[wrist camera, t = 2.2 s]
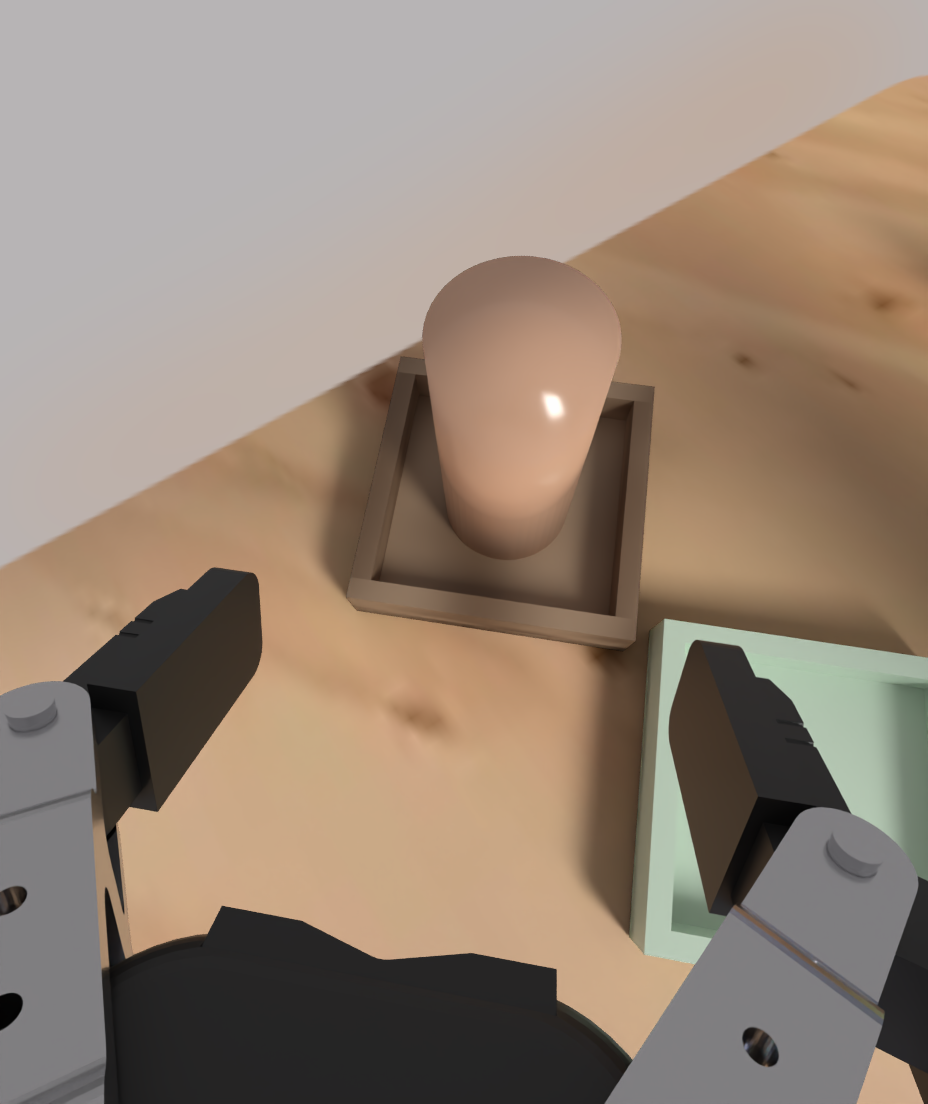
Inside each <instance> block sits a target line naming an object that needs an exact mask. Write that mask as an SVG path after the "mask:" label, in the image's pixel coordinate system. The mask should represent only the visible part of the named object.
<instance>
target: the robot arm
mask: <svg viewBox="0 0 928 1104" xmlns="http://www.w3.org/2000/svg"><path fill="white" fill-rule="evenodd" d="M261 653H262V628H261V613H260V597H259V583H258V579H257V577H256V575H255V574H254V573H249V572H243V571H236V570H229V569H222V568H211V569H210V570H208V571H207V572H206V573H205V574H204V575H203V576H202V577H201V578H200V579H199V580H197V581H196V582H195V583H194V584H193V585H192V586H191V587H190V588H189V589H188V590H184V589H179V590H177V591H175V592H173V593H171V594H169V595H166V596H164V597H162V598H160V599H158V600H156V601H154V602H153V603H151V604H150V605H149V606H148V607H147V608H146V609H145V610H143V611H142V612H141V613H140V614H139V615H138V616H137V617H135V621H131V622H130V623H129V624H128V625H126V626H125V627H124V628H123V629H122V630H121V631H120V633H119V635H115V636H114V637H113V638H112V639H111V640H109V641H108V642H107V643H106V644H105V645H104V646H103V647H101V648H100V649H99V650H98V651H97V652H96V653H95V654H93V655H92V656H91V657H90V658H89V659H88V660H87V661H86V662H84V663H83V664H82V665H81V666H80V667H79V668H78V669H76V670H75V671H74V672H73V673H72V674H71V675H70V676H69V677H67V678H66V679H65V680H64V681H63V682H61V681H50V682H41V683H35V684H30V685H26V686H23V687H20V688H17V689H14V690H12V691H9V692H7V693H5V694H3V695H1V696H0V1104H856V1103H857V1100H858V1097H859V1094H860V1091H861V1088H862V1085H863V1082H864V1079H865V1076H866V1073H867V1070H868V1067H869V1064H870V1061H871V1058H872V1055H873V1052H874V1049H875V1047H877V1048H878V1049H880V1050H882V1051H884V1052H886V1053H888V1054H890V1055H892V1056H894V1057H896V1058H898V1059H900V1060H902V1061H904V1062H906V1063H908V1064H909V1066H910V1069H911V1071H912V1074H913V1076H914V1079H915V1082H916V1084H917V1087H918V1089H919V1092H920V1095H921V1097H922V1100H923V1102H924V1104H928V881H927V880H925V879H923V878H921V877H918V876H917V874H916V871H915V868H914V866H913V864H912V863H911V861H910V859H909V858H908V856H907V855H906V854H905V852H904V851H903V850H902V849H901V848H900V847H899V845H898V844H897V843H896V842H895V841H893V840H892V839H891V838H890V837H889V836H888V835H887V834H885V833H884V832H883V831H881V830H880V829H879V828H877V827H876V826H874V825H872V824H871V823H869V822H867V821H866V820H864V819H862V818H860V817H858V816H855V815H853V814H851V812H850V810H849V808H848V806H847V804H846V802H845V800H844V798H843V797H842V795H841V793H840V791H839V789H838V787H837V785H836V783H835V781H834V779H833V778H832V776H831V774H830V772H829V770H828V768H827V766H826V764H825V762H824V760H823V758H822V757H821V755H820V753H819V751H818V749H817V747H814V741H813V739H812V738H811V736H810V734H809V732H808V730H807V728H805V727H804V722H803V720H802V719H801V717H800V715H799V713H798V711H797V709H796V707H795V705H794V703H793V701H792V700H791V699H790V698H789V697H788V696H787V695H786V694H785V693H784V692H783V691H781V690H780V689H779V688H778V687H777V686H776V685H775V684H774V683H773V682H772V681H771V680H770V679H766V678H760V677H756V676H755V674H754V672H753V670H752V668H751V665H750V663H749V661H748V659H747V657H746V655H745V653H744V651H743V649H742V648H741V647H740V646H737V645H730V644H724V643H717V642H710V641H703V640H695V641H694V642H693V643H692V644H691V646H690V648H689V651H688V654H687V658H686V661H685V664H684V667H683V671H682V674H681V677H680V681H679V684H678V687H677V690H676V694H675V697H674V700H673V703H672V707H671V711H670V716H669V728H668V734H669V743H670V748H671V752H672V757H673V761H674V765H675V770H676V774H677V778H678V782H679V787H680V791H681V795H682V800H683V804H684V808H685V813H686V817H687V821H688V825H689V830H690V834H691V838H692V843H693V847H694V851H695V856H696V860H697V864H698V868H699V873H700V877H701V881H702V886H703V890H704V894H705V899H706V903H707V907H708V912H709V913H711V914H717V915H722V916H726V918H725V919H724V921H723V922H722V924H721V925H720V927H719V929H718V930H717V932H716V933H715V935H714V936H713V938H712V939H711V941H710V942H709V944H708V945H707V947H706V949H705V950H704V952H703V953H702V955H701V956H700V958H699V959H698V961H697V962H696V964H695V965H694V967H693V968H692V970H691V972H690V973H689V975H688V976H687V978H686V979H685V981H684V982H683V984H682V985H681V987H680V988H679V990H678V992H677V993H676V995H675V996H674V998H673V999H672V1001H671V1002H670V1004H669V1005H668V1007H667V1008H666V1010H665V1012H664V1013H663V1015H662V1016H661V1018H660V1019H659V1021H658V1022H657V1024H656V1025H655V1027H654V1028H653V1030H652V1032H651V1033H650V1035H649V1036H648V1038H647V1039H646V1041H645V1042H644V1044H643V1045H642V1047H641V1048H640V1050H639V1051H638V1053H637V1055H636V1056H635V1058H634V1059H633V1060H632V1059H631V1057H630V1056H629V1055H628V1054H627V1053H626V1052H625V1051H624V1050H623V1049H622V1048H621V1047H620V1046H619V1045H618V1044H617V1043H616V1042H615V1041H614V1040H613V1039H612V1038H611V1037H610V1036H609V1035H608V1034H607V1033H605V1032H604V1031H603V1030H602V1029H601V1028H599V1027H598V1026H597V1025H596V1024H594V1023H593V1022H592V1021H591V1020H589V1019H588V1018H586V1017H585V1016H583V1015H582V1014H580V1013H579V1012H577V1011H576V1010H574V1009H573V1008H571V1007H569V1006H567V1005H565V1004H563V1003H562V1002H560V1001H558V1000H557V969H553V968H547V967H542V966H537V965H532V964H526V963H521V962H516V961H510V960H505V959H500V958H495V957H489V956H484V955H479V954H474V953H468V954H455V955H443V956H430V957H418V958H405V959H393V960H383V959H377V958H375V957H372V956H370V955H368V954H366V953H364V952H362V951H360V950H358V949H356V948H354V947H352V946H350V945H348V944H346V943H344V942H342V941H340V940H338V939H336V938H334V937H333V936H331V935H329V934H327V933H325V932H323V931H321V930H319V929H317V928H315V927H313V926H311V925H309V924H307V923H305V922H303V921H300V920H294V919H289V918H284V917H278V916H273V915H268V914H263V913H257V912H252V911H247V910H242V909H236V908H231V907H226V906H222V907H221V909H220V911H219V913H218V915H217V917H216V919H215V921H214V923H213V925H212V927H211V929H210V931H209V933H208V934H202V935H195V936H190V937H185V938H180V939H175V940H172V941H169V942H166V943H163V944H159V945H156V946H153V947H151V948H149V949H146V950H144V951H142V952H139V953H137V954H135V955H133V949H132V943H131V935H130V927H129V917H128V907H127V898H126V888H125V878H124V869H123V859H122V849H121V839H120V832H119V827H118V823H117V822H118V821H119V820H120V818H121V817H122V816H123V814H124V813H125V812H126V810H127V809H128V808H129V807H133V808H139V809H145V810H150V811H156V812H158V811H159V809H160V808H161V806H162V805H163V804H164V802H165V801H166V799H167V798H168V796H169V795H170V794H171V792H172V791H173V789H174V788H175V787H176V785H177V784H178V782H179V781H180V779H181V778H182V777H183V775H184V774H185V772H186V771H187V769H188V768H189V767H190V765H191V764H192V762H193V761H194V760H195V758H196V757H197V755H198V754H199V752H200V751H201V750H202V748H203V747H204V745H205V744H206V743H207V741H208V740H209V738H210V737H211V735H212V734H213V733H214V731H215V730H216V728H217V727H218V725H219V724H220V723H221V721H222V720H223V718H224V717H225V716H226V714H227V713H228V711H229V710H230V708H231V707H232V706H233V704H234V703H235V701H236V700H237V698H238V697H239V696H240V694H241V693H242V691H243V690H244V689H245V687H246V686H247V684H248V683H249V681H250V680H251V679H252V677H253V676H254V674H255V672H256V670H257V668H258V665H259V662H260V658H261Z"/></svg>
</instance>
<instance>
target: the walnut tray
mask: <svg viewBox="0 0 928 1104" xmlns="http://www.w3.org/2000/svg"><path fill="white" fill-rule="evenodd" d="M654 388H655V387H652V386H643V385H635V384H627V383H618V382H611V384H610V387H609V390H608V393H607V396H606V400H605V403H604V406H603V409H602V412H601V415H600V418H599V421H598V424H597V427H596V430H595V433H594V436H593V439H592V442H591V445H590V448H589V451H588V454H587V457H586V460H585V463H584V466H583V469H582V472H581V475H580V478H579V481H578V484H577V487H576V490H575V493H574V496H573V499H572V502H571V505H570V508H569V511H568V514H567V517H566V520H565V523H564V525H563V527H562V529H561V531H560V533H559V534H558V536H557V537H556V538H555V539H554V540H553V541H552V543H551V544H549V545H548V546H547V547H546V548H544V549H543V550H541V551H540V552H538V553H536V554H534V555H531V556H529V557H525V558H521V559H516V560H500V559H494V558H490V557H487V556H484V555H481V554H479V553H477V552H475V551H474V550H472V549H471V548H469V547H468V546H467V545H466V544H464V543H463V542H462V541H461V540H460V538H459V537H458V536H457V535H456V533H455V532H454V530H453V528H452V526H451V524H450V522H449V519H448V515H447V510H446V503H445V496H444V489H443V482H442V475H441V468H440V461H439V454H438V448H437V441H436V434H435V427H434V420H433V413H432V406H431V399H430V392H429V385H428V379H427V372H426V365H425V359H417V358H409V357H401V358H400V363H399V367H398V372H397V376H396V380H395V385H394V389H393V393H392V398H391V402H390V406H389V411H388V415H387V420H386V424H385V428H384V433H383V437H382V441H381V446H380V450H379V455H378V459H377V463H376V468H375V472H374V476H373V481H372V485H371V490H370V494H369V498H368V503H367V507H366V511H365V516H364V520H363V525H362V529H361V533H360V538H359V542H358V546H357V551H356V555H355V560H354V564H353V568H352V573H351V577H350V581H349V586H348V590H347V594H346V598H347V599H348V600H349V601H350V603H351V604H352V605H353V606H354V607H355V609H356V610H357V611H364V612H370V613H377V614H383V615H390V616H396V617H403V618H410V619H416V620H423V621H429V622H436V623H442V624H449V625H455V626H462V627H468V628H475V629H481V630H488V631H494V632H501V633H507V634H514V635H520V636H527V637H533V638H540V639H547V640H553V641H560V642H566V643H573V644H579V645H586V646H592V647H599V648H605V649H612V650H618V651H624V650H625V649H626V648H628V647H629V646H630V645H631V644H632V643H634V642H635V641H636V628H637V615H638V602H639V588H640V575H641V562H642V548H643V535H644V521H645V508H646V495H647V481H648V468H649V455H650V441H651V428H652V414H653V401H654Z"/></svg>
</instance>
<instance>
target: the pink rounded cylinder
mask: <svg viewBox="0 0 928 1104" xmlns="http://www.w3.org/2000/svg"><path fill="white" fill-rule="evenodd" d="M422 337H423V351H424V358H425V365H426V372H427V379H428V385H429V392H430V399H431V406H432V413H433V420H434V427H435V434H436V441H437V448H438V454H439V461H440V468H441V475H442V482H443V489H444V496H445V503H446V510H447V515H448V519H449V522H450V524H451V526H452V528H453V530H454V532H455V533H456V535H457V536H458V537H459V538H460V540H461V541H462V542H463V543H464V544H466V545H467V546H468V547H469V548H471V549H472V550H474V551H475V552H477V553H479V554H481V555H484V556H487V557H490V558H494V559H500V560H516V559H521V558H525V557H529V556H531V555H534V554H536V553H538V552H540V551H541V550H543V549H544V548H546V547H547V546H548V545H549V544H551V543H552V541H553V540H554V539H555V538H556V537H557V536H558V534H559V533H560V531H561V529H562V527H563V525H564V523H565V520H566V517H567V514H568V511H569V508H570V505H571V502H572V499H573V496H574V493H575V490H576V487H577V484H578V481H579V478H580V475H581V472H582V469H583V466H584V463H585V460H586V457H587V454H588V451H589V448H590V445H591V442H592V439H593V436H594V433H595V430H596V427H597V424H598V421H599V418H600V415H601V412H602V409H603V406H604V403H605V400H606V396H607V393H608V390H609V387H610V384H611V381H612V378H613V375H614V372H615V369H616V366H617V363H618V360H619V357H620V352H621V346H622V334H621V327H620V322H619V319H618V316H617V313H616V311H615V309H614V307H613V304H612V303H611V301H610V300H609V298H608V297H607V295H606V294H605V293H604V292H603V291H602V289H601V288H600V287H599V286H598V285H597V284H596V283H594V282H593V281H592V280H591V279H590V278H589V277H587V276H586V275H584V274H583V273H581V272H580V271H578V270H576V269H574V268H572V267H570V266H568V265H565V264H563V263H560V262H557V261H553V260H550V259H546V258H539V257H533V256H531V257H530V256H510V257H503V258H497V259H493V260H490V261H486V262H483V263H480V264H478V265H475V266H473V267H471V268H469V269H467V270H465V271H463V272H462V273H460V274H459V275H458V276H456V277H455V278H453V279H452V280H451V281H450V282H449V283H448V284H447V285H445V286H444V288H443V289H442V290H441V291H440V292H439V293H438V295H437V296H436V298H435V299H434V301H433V302H432V304H431V306H430V308H429V310H428V312H427V315H426V319H425V322H424V327H423V335H422Z"/></svg>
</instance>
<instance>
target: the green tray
mask: <svg viewBox="0 0 928 1104" xmlns="http://www.w3.org/2000/svg"><path fill="white" fill-rule="evenodd" d="M695 640H703V641H710V642H717V643H724V644H730V645H737V646H740V647H741V648H742V649H743V651H744V653H745V655H746V657H747V659H748V661H749V663H750V665H751V668H752V670H753V672H754V674H755V676H756V677H760V678H766V679H770V680H771V681H772V682H773V683H774V684H775V685H776V686H777V687H778V688H779V689H780V690H781V691H783V692H784V693H785V694H786V695H787V696H788V697H789V698H790V699H791V700H792V701H793V703H794V705H795V707H796V709H797V711H798V713H799V715H800V717H801V719H802V720H803V722H804V727H805V728H807V730H808V732H809V734H810V736H811V738H812V739H813V741H814V747H817V749H818V751H819V753H820V755H821V757H822V758H823V760H824V762H825V764H826V766H827V768H828V770H829V772H830V774H831V776H832V778H833V779H834V781H835V783H836V785H837V787H838V789H839V791H840V793H841V795H842V797H843V798H844V800H845V802H846V804H847V806H848V808H849V810H850V812H851V814H853V815H855V816H858V817H860V818H862V819H864V820H866V821H867V822H869V823H871V824H872V825H874V826H876V827H877V828H879V829H880V830H881V831H883V832H884V833H885V834H887V835H888V836H889V837H890V838H891V839H892V840H893V841H895V842H896V843H897V844H898V845H899V847H900V848H901V849H902V850H903V851H904V852H905V854H906V855H907V856H908V858H909V859H910V861H911V863H912V864H913V866H914V868H915V871H916V874H917V876H918V877H921V878H923V879H925V880H927V881H928V658H926V657H919V656H913V655H906V654H899V653H892V652H886V651H879V650H872V649H865V648H859V647H852V646H845V645H838V644H832V643H825V642H818V641H812V640H805V639H798V638H791V637H785V636H778V635H771V634H764V633H758V632H751V631H744V630H737V629H731V628H724V627H717V626H710V625H704V624H697V623H690V622H683V621H677V620H670V619H664V620H662V621H661V622H660V623H659V624H657V625H656V626H655V627H654V628H653V629H651V630H650V634H649V649H648V664H647V679H646V693H645V708H644V723H643V738H642V752H641V767H640V782H639V797H638V811H637V826H636V841H635V855H634V870H633V885H632V900H631V914H630V929H629V937H630V938H631V940H632V941H633V942H634V943H635V944H636V945H637V947H638V948H639V949H640V950H641V951H642V952H643V954H644V955H649V956H655V957H660V958H665V959H670V960H676V961H681V962H686V963H691V964H696V962H697V961H698V959H699V958H700V956H701V955H702V953H703V952H704V950H705V949H706V947H707V945H708V944H709V942H710V941H711V939H712V938H713V936H714V935H715V933H716V932H717V930H718V929H719V927H720V925H721V924H722V922H723V921H724V919H725V918H726V916H722V915H717V914H711V913H709V912H708V907H707V903H706V899H705V894H704V890H703V886H702V881H701V877H700V873H699V868H698V864H697V860H696V856H695V851H694V847H693V843H692V838H691V834H690V830H689V825H688V821H687V817H686V813H685V808H684V804H683V800H682V795H681V791H680V787H679V782H678V778H677V774H676V770H675V765H674V761H673V757H672V752H671V748H670V743H669V734H668V728H669V716H670V711H671V707H672V703H673V700H674V697H675V694H676V690H677V687H678V684H679V681H680V677H681V674H682V671H683V667H684V664H685V661H686V658H687V654H688V651H689V648H690V646H691V644H692V643H693V642H694V641H695Z"/></svg>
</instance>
